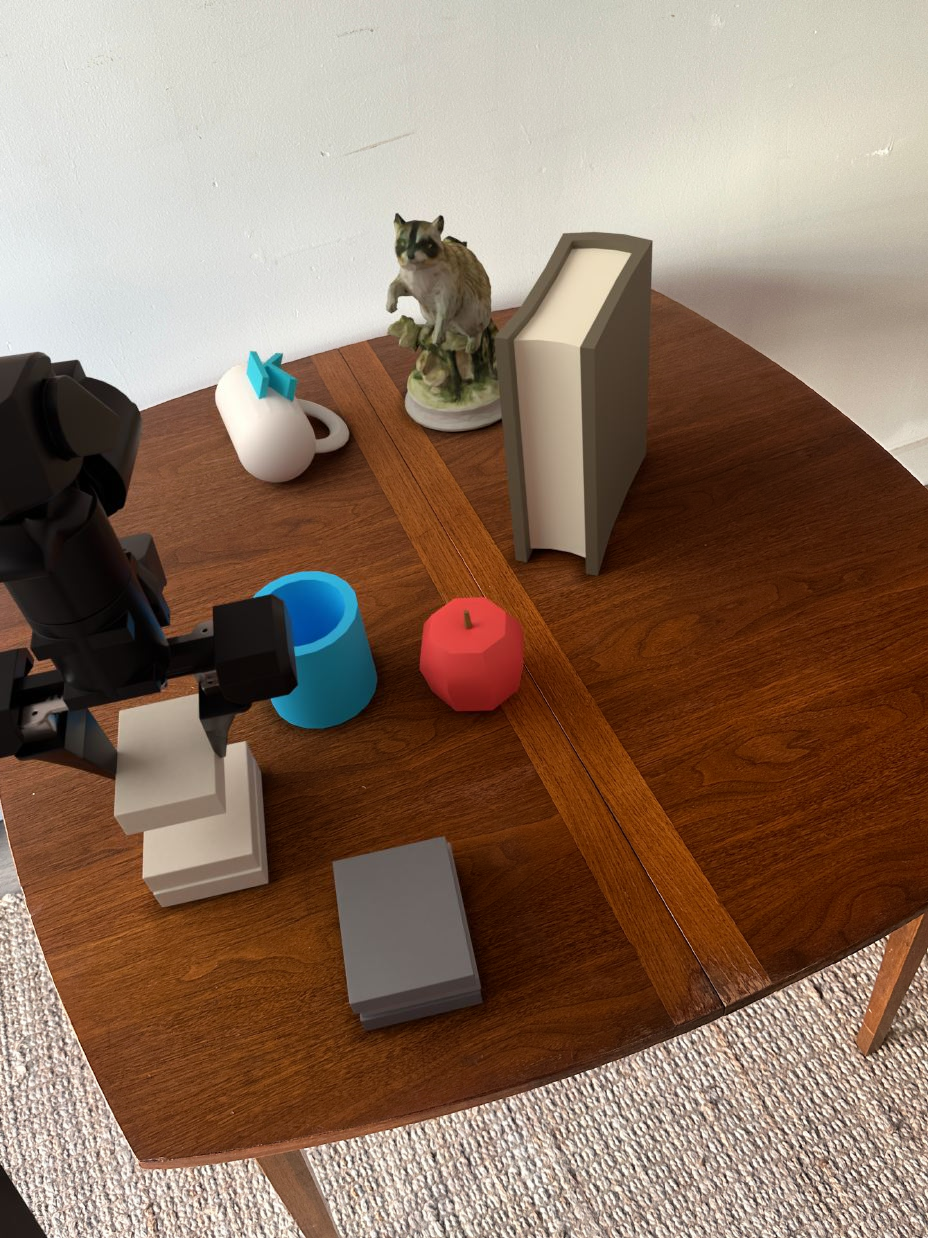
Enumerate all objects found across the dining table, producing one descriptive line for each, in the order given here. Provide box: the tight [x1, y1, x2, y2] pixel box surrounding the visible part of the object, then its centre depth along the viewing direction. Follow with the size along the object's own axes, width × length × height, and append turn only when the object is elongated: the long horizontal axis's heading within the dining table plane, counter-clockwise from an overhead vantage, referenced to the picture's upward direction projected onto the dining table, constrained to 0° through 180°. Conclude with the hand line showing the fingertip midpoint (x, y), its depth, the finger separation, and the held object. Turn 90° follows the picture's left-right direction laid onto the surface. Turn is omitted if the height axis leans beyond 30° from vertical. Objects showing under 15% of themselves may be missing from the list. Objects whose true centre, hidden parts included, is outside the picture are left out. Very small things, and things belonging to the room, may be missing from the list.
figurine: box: [385, 212, 502, 433], centre depth 93 cm, size 12×14×20 cm
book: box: [494, 231, 654, 577], centre depth 80 cm, size 16×7×21 cm, turn 159°
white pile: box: [142, 740, 269, 908], centre depth 68 cm, size 9×7×4 cm
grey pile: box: [332, 835, 484, 1032], centre depth 61 cm, size 9×7×4 cm
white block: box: [113, 693, 226, 836], centre depth 63 cm, size 8×6×2 cm
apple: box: [419, 596, 525, 712], centre depth 73 cm, size 8×8×8 cm
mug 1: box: [214, 350, 350, 483], centre depth 95 cm, size 12×9×12 cm
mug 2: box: [252, 570, 378, 729], centre depth 75 cm, size 12×8×8 cm
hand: (172, 762), depth 63 cm, fingers closed on white block, 6 cm apart
